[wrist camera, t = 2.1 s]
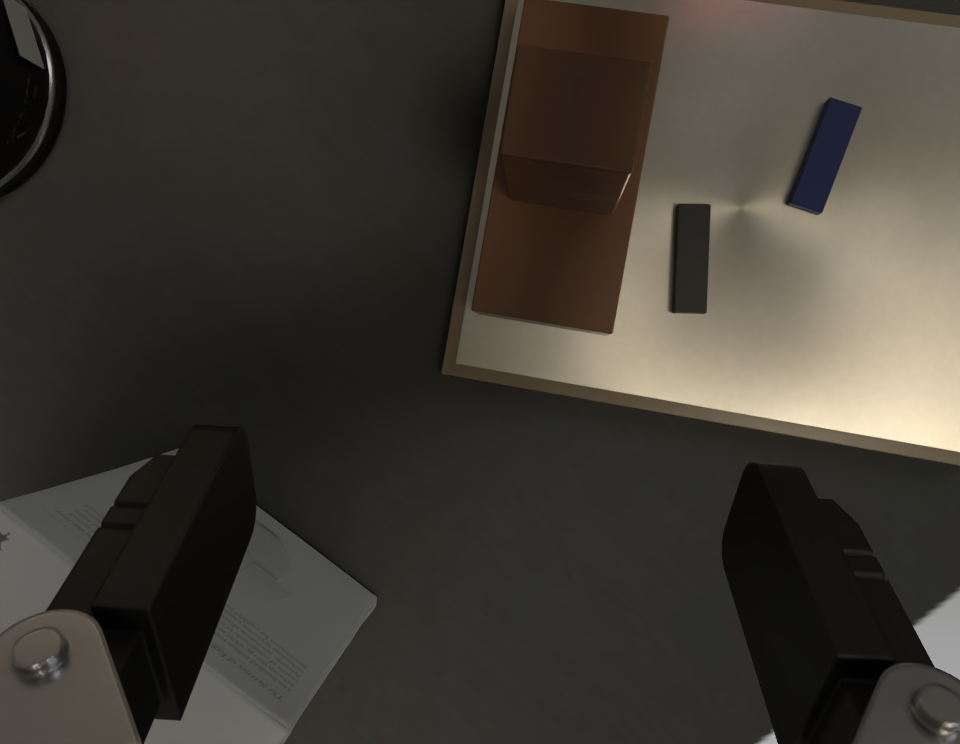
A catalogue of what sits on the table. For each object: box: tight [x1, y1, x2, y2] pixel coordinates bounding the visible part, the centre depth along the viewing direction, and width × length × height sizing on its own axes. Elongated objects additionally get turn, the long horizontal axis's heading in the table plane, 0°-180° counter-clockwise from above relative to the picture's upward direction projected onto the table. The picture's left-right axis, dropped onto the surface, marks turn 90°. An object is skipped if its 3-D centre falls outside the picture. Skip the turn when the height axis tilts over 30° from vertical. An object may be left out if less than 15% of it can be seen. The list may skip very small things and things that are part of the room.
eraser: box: [471, 0, 669, 336], centre depth 24 cm, size 5×11×8 cm, turn 170°
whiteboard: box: [441, 0, 960, 466], centre depth 28 cm, size 20×16×1 cm
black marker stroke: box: [672, 204, 711, 314], centre depth 28 cm, size 1×4×1 cm, turn 178°
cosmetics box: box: [0, 449, 377, 744], centre depth 26 cm, size 10×6×10 cm, turn 54°
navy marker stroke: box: [787, 97, 862, 215], centre depth 27 cm, size 1×4×1 cm, turn 160°
